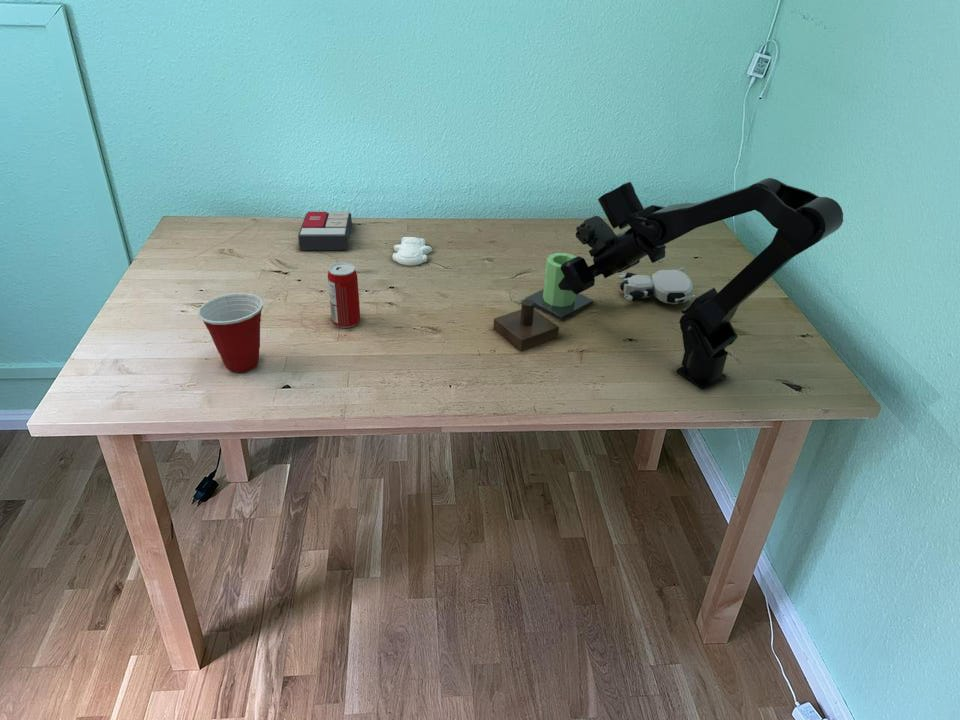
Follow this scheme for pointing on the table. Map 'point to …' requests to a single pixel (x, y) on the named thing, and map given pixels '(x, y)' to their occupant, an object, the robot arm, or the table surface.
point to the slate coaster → (560, 312)
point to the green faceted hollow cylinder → (556, 281)
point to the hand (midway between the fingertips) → (574, 280)
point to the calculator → (325, 231)
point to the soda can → (344, 295)
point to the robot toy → (658, 286)
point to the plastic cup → (234, 328)
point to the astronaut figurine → (411, 251)
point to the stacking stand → (526, 327)
